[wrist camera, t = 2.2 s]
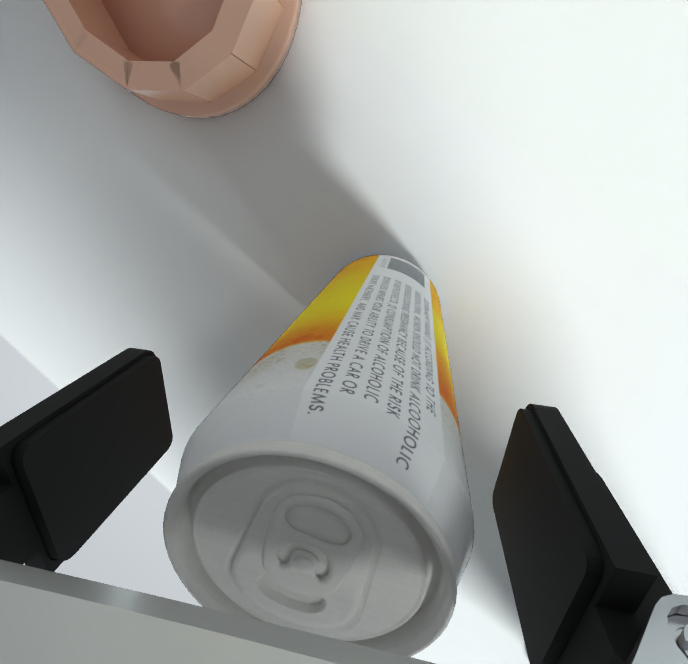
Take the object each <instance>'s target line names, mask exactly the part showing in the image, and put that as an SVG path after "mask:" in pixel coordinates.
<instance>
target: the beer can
mask: <svg viewBox="0 0 688 664" xmlns="http://www.w3.org/2000/svg"><path fill="white" fill-rule="evenodd" d="M163 533H164V540H165V546H166V549H167V553H168V556H169V558H170V561H171V563H172V565H173V567H174V569H175V571H176V573H177V575H178V576H179V578H180V580H181V581H182V583H183V584H184V585H185V587H186V588H187V590H188V591H189V592H190V593H191V594H192V595H193V597H194V598H195V599H196V600H197V601H198V602H199V603H200V604H201V605H202V606H203V607H205V608H209V609H213V610H217V611H222V612H226V613H230V614H234V615H238V616H242V617H247V618H251V619H255V620H259V621H263V622H267V623H272V624H276V625H280V626H284V627H288V628H292V629H296V630H300V631H304V632H309V633H313V634H317V635H321V636H325V637H329V638H333V639H337V640H341V641H345V642H349V643H353V644H358V645H362V646H366V647H370V648H374V649H378V650H382V651H386V652H390V653H394V654H398V655H402V656H406V657H411V656H413V655H414V654H416V653H418V652H420V651H422V650H423V649H425V648H426V647H428V646H429V645H430V644H432V643H433V642H434V641H435V640H436V639H437V638H438V637H439V636H440V635H441V633H442V632H443V631H444V629H445V628H446V627H447V625H448V623H449V621H450V619H451V617H452V614H453V611H454V607H455V603H456V594H457V585H458V583H459V581H460V579H461V576H462V574H463V572H464V570H465V567H466V565H467V563H468V560H469V558H470V554H471V551H472V547H473V539H474V523H473V514H472V507H471V501H470V494H469V488H468V481H467V475H466V468H465V462H464V455H463V449H462V443H461V436H460V430H459V423H458V417H457V410H456V404H455V397H454V391H453V384H452V378H451V372H450V365H449V359H448V352H447V346H446V339H445V333H444V326H443V320H442V313H441V307H440V301H439V297H438V294H437V291H436V289H435V287H434V285H433V283H432V282H431V280H430V279H429V278H428V277H427V275H426V274H425V273H424V272H423V271H422V270H421V269H419V268H418V267H417V266H415V265H414V264H412V263H410V262H408V261H406V260H404V259H401V258H398V257H395V256H389V255H373V256H367V257H364V258H361V259H358V260H356V261H354V262H352V263H350V264H348V265H347V266H346V267H344V268H343V269H342V270H341V271H340V272H339V273H338V274H337V275H336V276H335V277H334V278H333V279H332V280H331V282H330V283H329V284H328V285H327V286H326V287H325V288H324V289H323V290H322V291H321V292H320V294H319V295H318V296H317V297H316V298H315V299H314V300H313V301H312V302H311V303H310V305H309V306H308V307H307V308H306V309H305V310H304V311H303V312H302V313H301V314H300V315H299V317H298V318H297V319H296V320H295V321H294V322H293V323H292V324H291V325H290V326H289V328H288V329H287V330H286V331H285V332H284V333H283V334H282V335H281V336H280V337H279V338H278V340H277V341H276V342H275V343H274V344H273V345H272V346H271V347H270V348H269V349H268V351H267V352H266V353H265V354H264V355H263V356H262V357H261V358H260V359H259V360H258V361H257V363H256V364H255V365H254V366H253V367H252V368H251V369H250V370H249V371H248V372H247V373H246V375H245V376H244V377H243V378H242V379H241V380H240V381H239V382H238V383H237V384H236V386H235V387H234V388H233V389H232V390H231V391H230V392H229V393H228V394H227V395H226V396H225V398H224V399H223V400H222V401H221V402H220V403H219V404H218V405H217V406H216V407H215V409H214V410H213V411H212V412H211V413H210V414H209V415H208V416H207V417H206V418H205V419H204V421H203V422H202V423H201V424H200V425H199V426H198V427H197V429H196V430H195V432H194V433H193V434H192V436H191V437H190V439H189V441H188V443H187V445H186V447H185V450H184V453H183V456H182V459H181V464H180V469H179V474H178V480H177V485H176V488H175V489H174V491H173V493H172V495H171V497H170V498H169V500H168V503H167V507H166V510H165V514H164V521H163Z"/></svg>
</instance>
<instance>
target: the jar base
mask: <svg viewBox="0 0 688 664" xmlns="http://www.w3.org/2000/svg"><path fill="white" fill-rule="evenodd" d="M43 1H44V3H45V4H46V6H47V8H48V9H49V11H50V13H51V14H52V16H53V18H54V19H55V21H56V23H57V25H58V26H59V28H60V30H61V31H62V33H63V35H64V36H65V38H66V40H67V41H68V43H69V45H70V46H71V48H72V50H73V51H74V52H75V53H76V54H77V55H79V56H80V57H82V58H83V59H84V60H86V61H87V62H89V63H90V64H91V65H93V66H94V67H96V68H97V69H98V70H100V71H101V72H103V73H104V74H105V75H107V76H108V77H110V78H111V79H112V80H114V81H115V82H117V83H118V84H119V85H121V86H122V87H124V88H125V89H127V90H130V91H131V92H132V93H133V94H134V95H136V96H137V97H139V98H140V99H142V100H143V101H145V102H147V103H148V104H150V105H152V106H154V107H157V108H159V109H161V110H164V111H167V112H171V113H174V114H178V115H181V116H185V117H193V118H212V117H217V116H222V115H225V114H228V113H230V112H233V111H236V110H238V109H239V108H241V107H243V106H244V105H246V104H248V103H249V102H250V101H252V100H253V99H254V98H255V97H257V96H258V95H259V94H260V93H261V92H262V91H263V90H264V89H265V88H266V87H267V85H268V84H269V83H270V82H271V80H272V79H273V78H274V76H275V75H276V73H277V72H278V71H279V69H280V67H281V65H282V63H283V61H284V60H285V58H286V56H287V54H288V51H289V49H290V46H291V43H292V41H293V38H294V35H295V31H296V28H297V24H298V20H299V15H300V9H301V3H302V0H43Z"/></svg>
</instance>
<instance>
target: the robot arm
mask: <svg viewBox="0 0 688 664" xmlns="http://www.w3.org/2000/svg"><path fill="white" fill-rule="evenodd" d="M172 438H173V436H172V429H171V423H170V417H169V411H168V405H167V399H166V393H165V386H164V380H163V374H162V368H161V362H160V360H159V358H158V357H156V356H155V354H154V352H152V351H150V350H142V349H135V348H128V349H126V350H124V351H123V352H121V353H119V354H118V355H116V356H115V357H113V358H111V359H110V360H108V361H106V362H105V363H103V364H102V365H100V366H98V367H97V368H95V369H93V370H92V371H90V372H89V373H87V374H85V375H84V376H82V377H80V378H79V379H77V380H76V381H74V382H72V383H71V384H69V385H67V386H66V387H64V388H62V389H61V390H59V391H58V392H56V393H54V394H53V395H51V396H49V397H48V398H46V399H45V400H43V401H41V402H40V403H38V404H36V405H35V406H33V407H32V408H30V409H28V410H27V411H25V412H23V413H22V414H20V415H19V416H17V417H15V418H14V419H12V420H10V421H9V422H7V423H5V424H4V425H2V426H1V427H0V664H435V663H431V662H427V661H423V660H419V659H415V658H411V657H406V656H402V655H398V654H394V653H390V652H386V651H382V650H378V649H374V648H370V647H366V646H362V645H358V644H353V643H349V642H345V641H341V640H337V639H333V638H329V637H325V636H321V635H317V634H313V633H309V632H304V631H300V630H296V629H292V628H288V627H284V626H280V625H276V624H272V623H267V622H263V621H259V620H255V619H251V618H247V617H242V616H238V615H234V614H230V613H226V612H222V611H217V610H213V609H209V608H205V607H200V606H196V605H192V604H188V603H184V602H180V601H175V600H171V599H167V598H162V597H159V596H154V595H150V594H146V593H142V592H138V591H133V590H129V589H125V588H121V587H116V586H112V585H108V584H104V583H99V582H95V581H91V580H86V579H82V578H78V577H73V576H69V575H65V574H61V573H56V572H54V571H55V570H56V569H57V568H58V567H59V565H60V564H61V563H62V562H63V561H65V560H68V559H70V558H71V557H72V556H73V555H74V554H75V553H76V552H77V551H78V550H79V549H80V548H81V547H82V545H83V544H84V543H85V542H86V541H87V540H88V539H89V538H90V537H91V535H92V534H93V533H94V532H95V531H96V530H97V529H98V527H99V526H100V525H101V524H102V523H103V522H104V521H105V519H107V517H108V516H109V515H110V514H111V513H112V512H113V511H114V510H115V508H116V507H117V506H118V505H119V504H120V503H121V502H122V501H123V499H124V498H125V497H126V496H127V495H128V494H129V493H130V492H131V491H132V489H133V488H134V487H135V486H136V485H137V484H138V483H139V482H140V480H141V479H142V478H143V477H144V476H145V475H146V474H147V473H148V471H149V470H150V469H151V468H152V467H153V466H154V465H155V464H156V462H157V461H158V460H159V459H160V458H161V457H162V456H163V455H164V453H165V452H166V451H167V450H168V449H169V447H170V445H171V443H172ZM493 508H494V512H495V517H496V521H497V525H498V530H499V534H500V538H501V542H502V547H503V551H504V555H505V559H506V564H507V568H508V572H509V577H510V581H511V585H512V589H513V594H514V598H515V602H516V606H517V611H518V615H519V619H520V624H521V628H522V632H523V636H524V641H525V645H526V649H527V654H528V658H529V661H530V664H688V596H685V595H677V594H672V592H671V590H670V589H669V587H668V586H667V584H666V582H665V581H664V579H663V577H662V576H661V574H660V572H659V571H658V569H657V568H656V566H655V564H654V563H653V561H652V559H651V558H650V556H649V554H648V553H647V551H646V550H645V548H644V546H643V545H642V543H641V541H640V540H639V538H638V536H637V535H636V533H635V532H634V530H633V528H632V527H631V525H630V523H629V522H628V520H627V518H626V517H625V515H624V514H623V512H622V510H621V509H620V507H619V505H618V504H617V502H616V500H615V499H614V497H613V496H612V494H611V492H610V491H609V489H608V487H607V486H606V484H605V482H604V481H603V479H602V478H601V477H600V475H599V474H598V473H596V472H595V470H594V468H593V467H592V465H591V463H590V462H589V460H588V458H587V457H586V455H585V453H584V452H583V450H582V448H581V447H580V445H579V443H578V442H577V440H576V438H575V437H574V435H573V434H572V432H571V430H570V429H569V427H568V425H567V424H566V422H565V420H564V419H563V417H562V415H561V414H560V412H559V410H558V409H557V408H555V407H549V406H542V405H535V404H529V405H528V406H527V407H526V409H519V410H518V412H517V414H516V418H515V421H514V424H513V428H512V431H511V434H510V438H509V441H508V444H507V448H506V451H505V455H504V458H503V461H502V465H501V468H500V471H499V475H498V478H497V481H496V485H495V488H494V492H493ZM24 563H25V565H23V564H24Z"/></svg>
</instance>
